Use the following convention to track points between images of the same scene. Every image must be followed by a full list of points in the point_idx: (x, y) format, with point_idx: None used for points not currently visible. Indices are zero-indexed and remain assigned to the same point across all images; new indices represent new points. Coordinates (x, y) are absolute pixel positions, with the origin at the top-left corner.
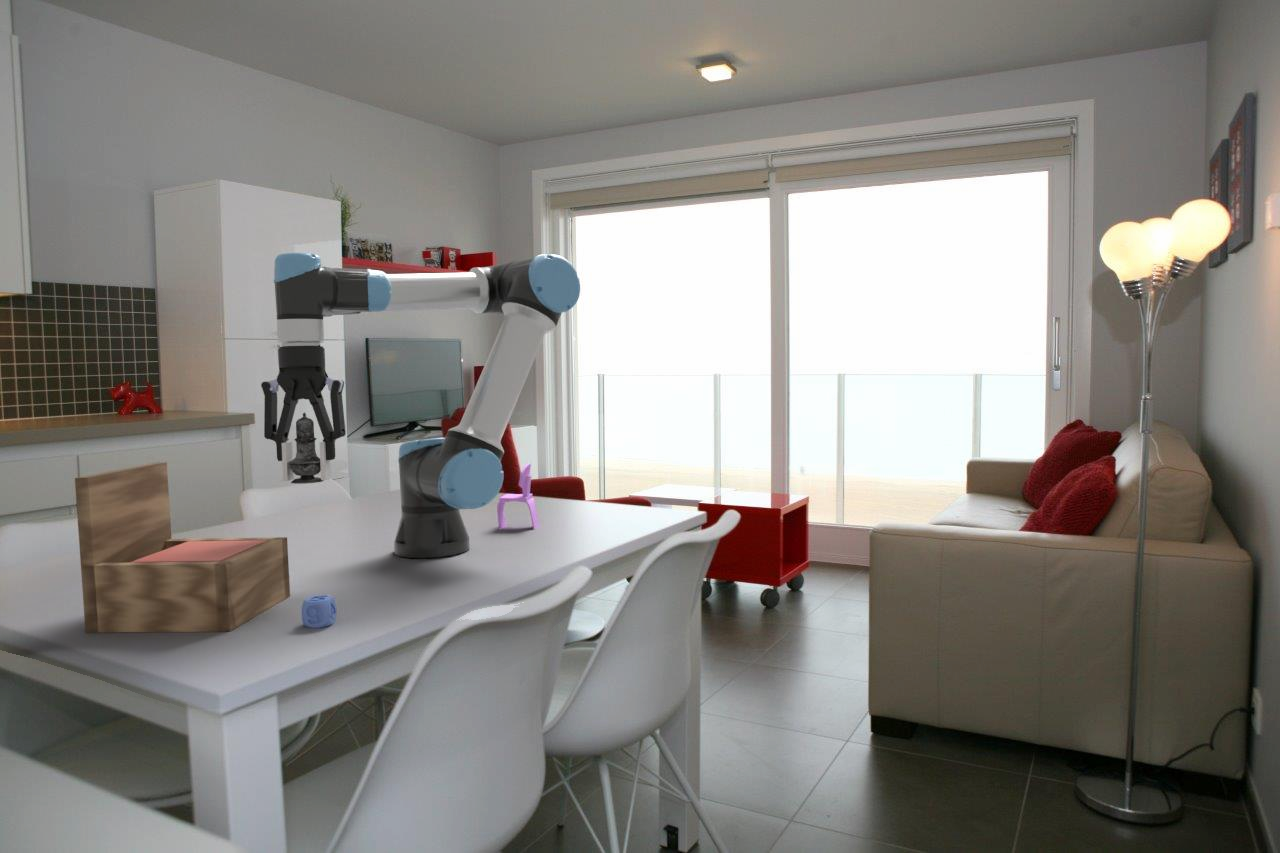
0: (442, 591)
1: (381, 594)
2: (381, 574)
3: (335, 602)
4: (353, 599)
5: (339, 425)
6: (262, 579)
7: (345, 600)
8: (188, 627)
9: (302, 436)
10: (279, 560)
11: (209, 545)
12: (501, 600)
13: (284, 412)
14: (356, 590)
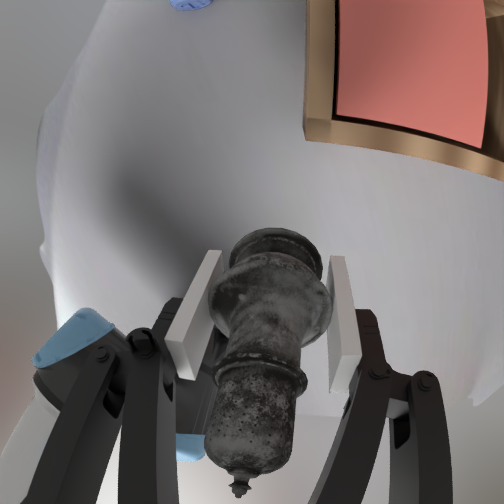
0: (104, 148)
1: (169, 130)
2: (213, 239)
3: (171, 4)
4: (197, 103)
5: (78, 382)
6: (307, 37)
7: (206, 98)
8: None
9: (254, 374)
10: (306, 99)
11: (434, 89)
12: (47, 118)
13: (345, 501)
14: (212, 152)
